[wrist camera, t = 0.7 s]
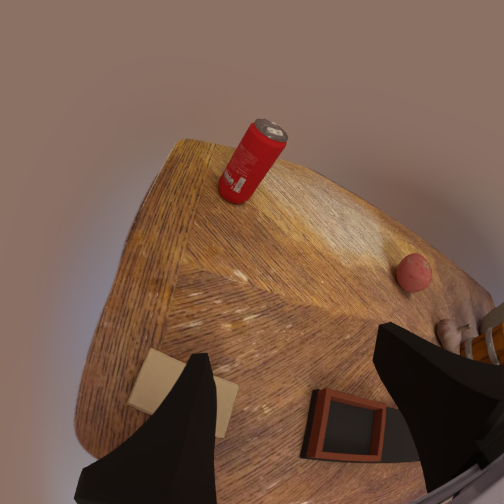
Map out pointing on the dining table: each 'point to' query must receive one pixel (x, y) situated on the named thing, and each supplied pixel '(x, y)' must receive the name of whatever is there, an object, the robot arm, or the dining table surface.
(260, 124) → the beverage can
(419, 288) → the apple
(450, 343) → the garlic bulb
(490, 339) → the mug
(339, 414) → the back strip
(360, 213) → the dining table surface
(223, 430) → the foam pad
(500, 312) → the planter
